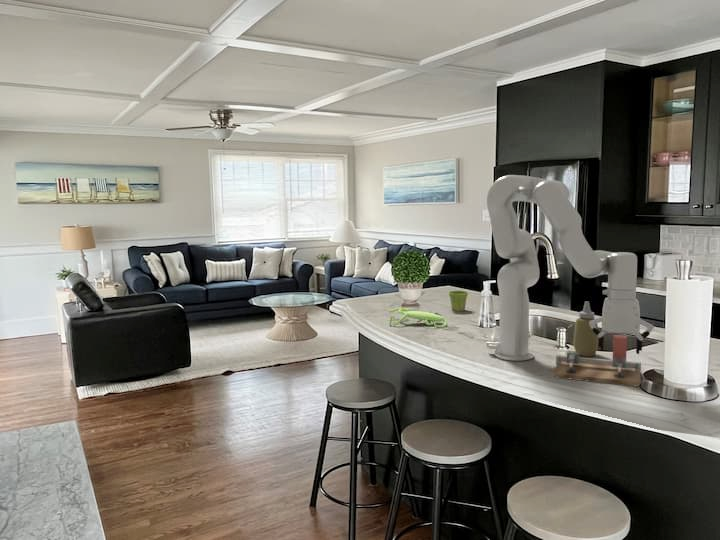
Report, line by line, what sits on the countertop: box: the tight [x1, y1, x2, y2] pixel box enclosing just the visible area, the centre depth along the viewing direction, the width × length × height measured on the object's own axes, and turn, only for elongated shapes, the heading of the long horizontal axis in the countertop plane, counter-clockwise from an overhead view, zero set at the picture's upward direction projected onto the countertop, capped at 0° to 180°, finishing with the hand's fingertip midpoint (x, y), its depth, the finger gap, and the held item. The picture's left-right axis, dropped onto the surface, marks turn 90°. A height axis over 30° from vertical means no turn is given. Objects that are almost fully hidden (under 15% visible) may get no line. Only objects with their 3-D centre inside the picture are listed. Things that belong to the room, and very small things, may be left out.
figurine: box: [388, 307, 448, 329], centre depth 243 cm, size 18×27×6 cm
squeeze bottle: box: [572, 301, 599, 357], centre depth 187 cm, size 8×8×18 cm
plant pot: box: [448, 290, 469, 312], centre depth 267 cm, size 9×9×9 cm
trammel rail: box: [555, 350, 642, 373], centre depth 167 cm, size 24×9×4 cm, turn 66°
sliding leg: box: [612, 334, 628, 376], centre depth 164 cm, size 4×9×10 cm, turn 156°
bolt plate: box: [553, 362, 642, 386], centre depth 167 cm, size 23×14×1 cm, turn 66°
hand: (619, 351), depth 167 cm, fingers open, 9 cm apart
